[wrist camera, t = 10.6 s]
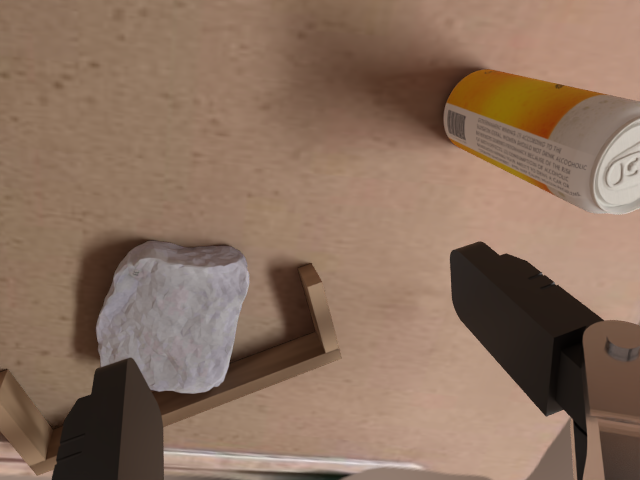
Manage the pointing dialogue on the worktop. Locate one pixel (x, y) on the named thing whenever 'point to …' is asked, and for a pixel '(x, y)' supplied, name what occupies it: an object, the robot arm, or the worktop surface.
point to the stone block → (174, 314)
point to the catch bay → (241, 379)
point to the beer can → (551, 137)
